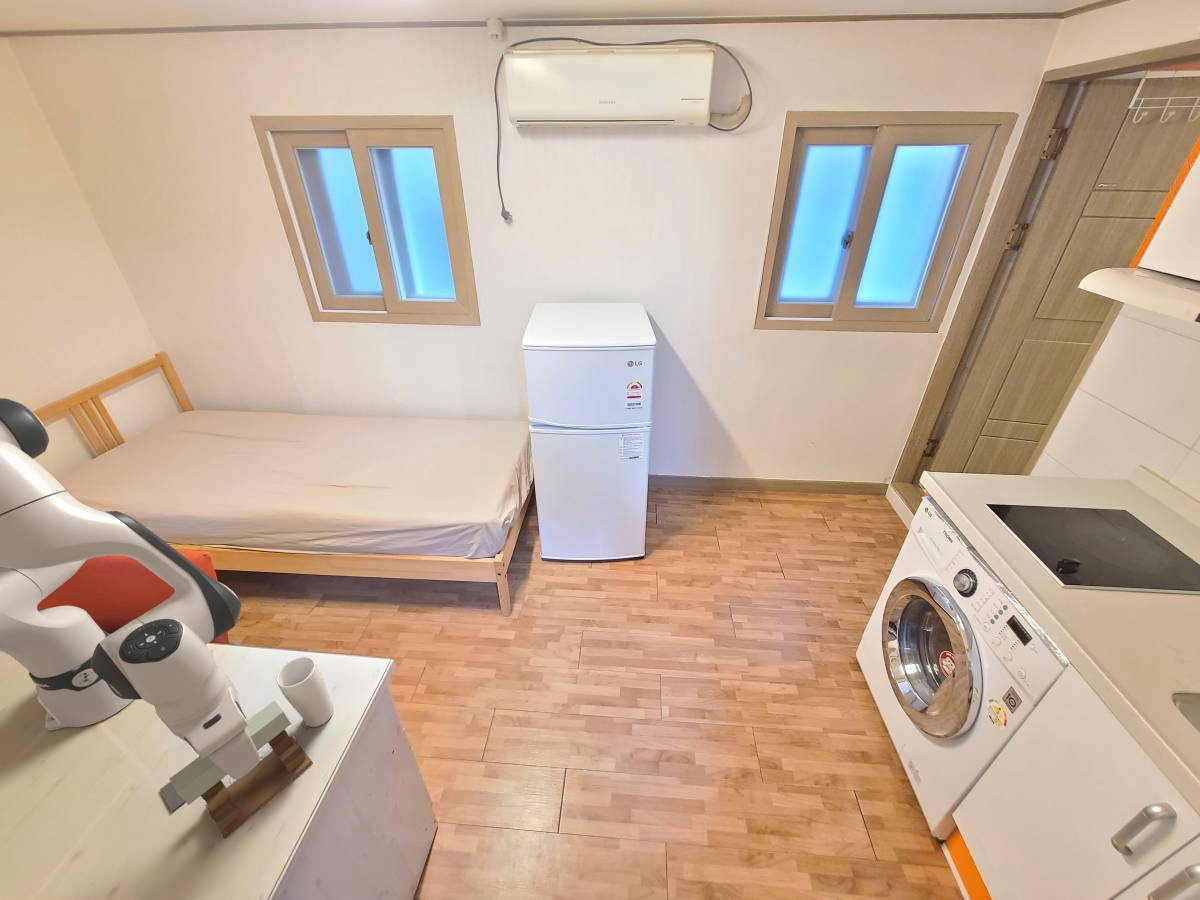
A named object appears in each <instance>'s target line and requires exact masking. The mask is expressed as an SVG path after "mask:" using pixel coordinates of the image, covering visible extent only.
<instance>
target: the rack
mask: <svg viewBox="0 0 1200 900" xmlns="http://www.w3.org/2000/svg"><path fill="white" fill-rule="evenodd" d="M267 744H268V745H269V746H270V747H271V748H272V751H271V752H269V753H268V754H266V756H264V757H263V758H262V759H260V762H259V764H258V765H257V766H256V767H255V768H253V769H252V770H251V771H250V772H249V773H247V774H246V775H245V776H243V777H242V778H240V779H235V781H233V782H232V783H231V784H230V785H228V786H227V787H226V785H225V784H224V782H223V781H222V779H221V780H220V781H219V782H217V783H216V784H215V785H214V786H212V787H211V788H210V789H209V790H207V791H206V792H205V793H204V794H202V795H201V796H200V797H201V798H202V799H203V800H204V802H205V803H206V804H205V805H204V806H205V808H206V809H207V811H208V814H209V816H210V818H211V820H212V821H213V822H214V823H215V825H216V827H217V829H218V831H219V832H220V834H221V835H222V837H223V839H227V838H228V837H229V836H230V835H232V833H234V832H235V831H236V830H237V829H238V828H239V827H241V826H242V825H243V824H244V823H246V821H248V820H249V819H250V818H251V817H252V816H254V814H255V813H257V812H258V811H259V810H260V809H261V808H262V807H264V806H265V805H266V804H267V803H268V802H269V801H271V800H272V799H273V798H274V797H275V796H277V794H279V793H280V792H281V791H282V790H283V789H285V788H286V787H287V786H288V785H290V783H291V782H293V781H294V780H295V779H296V778H297V777H299V776H300V775H301V773H303V772H304V771H305V770H306V769H308V767H310V766H312V764H313V760H312V759H311V758H310V756H309V755H308V754H307V753H306V752H305V750H304V749H303V747H302V746H301V745H300V743H299V742H298V741H297V740H296V739H295V737H294V736H293V735H291V736H289V734H288V732H287V731H286V729H284V730H283V731H282V732H281V733H279V734H278V735H277V736H275V737H274V738H273V739H272V740H270V741H269V742H268V743H267Z"/></svg>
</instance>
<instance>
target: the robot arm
mask: <svg viewBox="0 0 1200 900" xmlns="http://www.w3.org/2000/svg"><path fill="white" fill-rule="evenodd" d="M49 438H50V437H49V435H48V431H47V430H46V426H45V425H44V423H43V422H42V421H41V419H40V418H39V417H38V415H36V413H34V412H32V411H31V410H30V408H28V407H27V406H25V405H23V404H22V403H20V402H18V401H15V400H12V399H9V398H6V397H0V652H2V653H5V654H6V655H8V656H10V657H11V658H13V659H14V660H15V661H17V662H18V663H19V664H20V665H21V666H22V667H24V668H25V669H26V670H27V671H28V676H29V677H30V678H31V681H33V683H34V684H35V690H36V692H37V693H36V699H37V701H38V703H39V704H40V705H41V706H42V707H43V708H44V709H45V710H46V711H45V713H46V714H45V723H44V727H45V728H46V730H47V731H52V732H53V731H55V730H58V729H59V730H60V729H63V728H72V727H73V728H81V727H85V726H90V725H93V724H96V723H99V722H101V721H104V720H106V719H108V718H109V717H112V716H113V715H115V714H117V713H118V712H119V711H121V710H123V709H124V708H126V707H127V706H128V705H130V704H131V703H132V702H133V701H135V700H143V701H144V702H146V703H147V704H149V705H152V706H153V707H154V709H155V713H156V715H157V717H158V718H159V719H160V721H162V722H163V724H164V725H165V726H166V728H168V729H169V730H170V732H171V733H172V734H173V735H174V736H175V737H178V738H179V739H181V740H182V741H184V742H186V743H187V744H188V745H189V746H190V747H191V748H192V749H193V750H194V751H195V753H196V754H197V755H198V757H199V756H200V757H201V758H205V757H207V756H208V757H209V758H210V759H211V760H212V761H213V762H214V763H215V764H216V765H217V766H218V767H220V768H221V769H222V770H223V771H224V772H225V773H227V774H228V775H227V776H229V777H230V778H232V779H234V780H237V779H240V778H242V777H243V776H245V775H246V774H247V773H249V772H250V771H251V770H252V769H253V768H255V767H256V766H257V765H258V764H259V762H260V761H261V756H260V753H259V750H258V751H257V749H256V747H255V744H254V742H253V740H252V738H251V736H250V734H249V732H248V730H247V728H246V726H248V724H249V723H248V720H247V716H246V715H245V713H244V711H243V709H242V707H241V703H240V698H239V694H238V693H239V692H238V690H237V687H236V686H235V685H234V683H233V682H232V680H231V679H230V677H229V676H228V674H227V673H226V672H225V670H224V669H223V668H222V667H220V666H219V665H216V659H215V657H214V654H213V653H212V651H211V650H210V649H209V648H208V646H207V644H209V643H210V642H213V641H214V640H216V639H218V638H219V637H221V636H223V635H224V634H226V633H227V632H229V631H231V630H232V629H233V628H235V626H236V624H237V622H238V620H239V618H240V617H239V616H240V614H241V609H242V601H240V599H239V597H238V595H236V593H235V592H234V591H233V590H232V589H231V588H229V587H228V586H227V585H225V584H224V583H221V582H220V581H218V580H216V579H215V578H213V577H212V576H210V574H208V573H206V572H205V571H204V570H202V569H201V568H199V567H198V566H197V565H196V564H194V563H193V562H192V561H191V560H189V559H188V558H186V557H185V556H184V555H183V554H182V553H181V552H179V551H177V549H175V548H174V547H172V546H171V545H170V544H168V543H167V542H166V541H165V540H164V539H163V538H161V537H160V536H159V535H157V534H156V533H154V532H153V531H151V530H150V529H149V528H147V527H146V526H145V525H143V524H142V523H140V522H139V521H137V519H135V518H133V517H131V516H129V515H127V514H126V513H123V512H120V511H119V510H110V511H109V510H108V511H107V510H106V511H101V510H98V509H96V508H93V507H90V506H88V505H86V504H84V503H82V502H80V501H79V500H77V498H75V497H74V496H73V495H72V494H70V492H68V491H67V489H66V488H65V487H64V486H63V485H62V484H61V483H60V482H59V480H57V479H56V477H54V476H53V475H52V474H51V472H49V471H48V470H47V469H45V467H43V466H42V465H41V464H40V463H39V462H38V461H36V460H35V458H37V457H39V456H40V455H42V454H44V453H45V452H46V450H47V448H48V445H49V442H50V439H49ZM105 556H107V557H108V556H121V557H127V558H131V559H133V560H135V561H136V562H138V563H139V564H141V565H142V566H143V567H144V568H147V570H149V571H150V572H151V573H153V574H154V575H156V576H157V577H158V578H160V579H161V580H162V581H163V582H165V583H166V584H167V585H169V586H170V587H171V588H173V589H174V593H173V594H172V595H171V596H170V597H169V598H168V599H166V600H164V601H162V602H161V603H159V604H158V605H156V606H155V607H153V608H151V609H149V610H148V611H146V612H145V613H144V614H142V615H140V616H138V617H137V618H136V619H135V618H134V619H133V620H131V621H130V622H127V623H126V624H124V625H123V626H121V627H120V628H118V629H117V630H115V631H114V632H112V633H109V632H107V631H106V630H104V629H102V628H101V627H100V626H99V625H98V624H97V623H96V622H95V620H94V619H93V618H92V617H91V615H90V614H89V613H88V612H87V611H86V610H85V609H83V608H80V607H77V606H74V605H59V606H54V607H50V608H49V607H48V608H44V609H42V610H38V605H39V604H40V603H41V602H42V601H43V600H44V599H46V598H47V597H48V596H49V595H51V594H53V592H54V591H56V590H57V589H58V588H60V587H61V586H62V585H63V584H65V583H66V582H67V581H68V580H70V579H71V578H72V577H74V575H75V574H76V573H77V572H78V570H80V569H81V567H82V566H83V565H84V564H85V563H86V561H87V560H91V559H93V558H100V557H105Z"/></svg>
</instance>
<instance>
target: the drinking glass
mask: <svg viewBox="0 0 1200 900" xmlns="http://www.w3.org/2000/svg"><path fill="white" fill-rule="evenodd" d="M276 685H277V686H278V688H279V690H280V692H281V693H282V695H283V696H284V698H285V699H286V701H288V703H289V704H290V705H291V707H293V709H294V710H295V711H296V712H297V713H298V714H299V716H300V717H301V719H302V720H303V721H304V722H305V724H306V725H307V726H309V727H311V728H317V727H320V726H322V725H324V724H325V723H326V722H328V721H329V720H330V718H331V717H332V715H333V714H334V704H333V703H332V701H331V698H330V695H329V692H328V689H327V686H326V683H325V681H324V678H323V674H322V672H321V670H320V668H319V666H318V664H317V663H316V661H315V660H314V658H312V657H310V656H300V657H296V658H294V659H292V660H290V661H288V662H287V663H286V664H284V665H283V666H282V667H281V669H280V670H279V671H278V673H277V676H276Z"/></svg>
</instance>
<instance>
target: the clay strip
mask: <svg viewBox="0 0 1200 900" xmlns="http://www.w3.org/2000/svg"><path fill="white" fill-rule="evenodd" d="M247 721H248V723H249V724H248V726H246V728H247V730H248V732H249V734H250V736H251V738H252V740H253V742H254V744H255V747H256V749H257V751H258V752H259V750H260V749H262V748H263V747H264V746H265V745H267V744H269V743H268V742H269V741H270V740H272V739H273V738H274V737H275V736H277V735H278V734H279V733H281V732H282V731H283V730H284V729H285V730H286V729H287V728H288V727H289V726H291V725H292V723H291V722H290V720H289V718H288V716H287V715H286V713H285V711H284V710H283V709H282V708H281V706H280V705H279V704H278V703H277V702H276V701H275V700H273V701H272V702H270V703H269V704H267V705H266V706H265V707H263V708H262V709H261V710H260V711H258V712H257V713H255V714H254V715H252V717H250V718H248V720H247ZM226 776H229V775H228V774H227V773H225V772H224V771H223V770H222V769H221V768H220V767H218V766H217V765H216V764H215V763H214V762H213V761H212V760H211V759H210V758H209V757H208V756H207V757H205V758H201V757H200V756H199V755H198V757H197V758H195V759H194V760H192V761H191V762H190V763H188V764H187V765H186V766H184V767H183V768H182V769H180V770H179V771H178V772H177V773H175V774H173V776H171V777H170V778H169V780H170V781H169V782H171V783H172V785H173V787H174V788H175V790H176V792H177V794H178V795H179V796H180V797H181V798H182V799H183V800H184V801H185V804H187V805H188V806H190V805H191V804H192V803H194V802H195V801H196V800H198V799H199V798H200V797H201V795H202V794H204V793H205V792H206V791H207V790H209V789H210V788H211V787H212V786H214V785H215V784H216V783H217V782H219V781H220V780H221V781H222V780H223V779H224V778H225V777H226Z"/></svg>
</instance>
